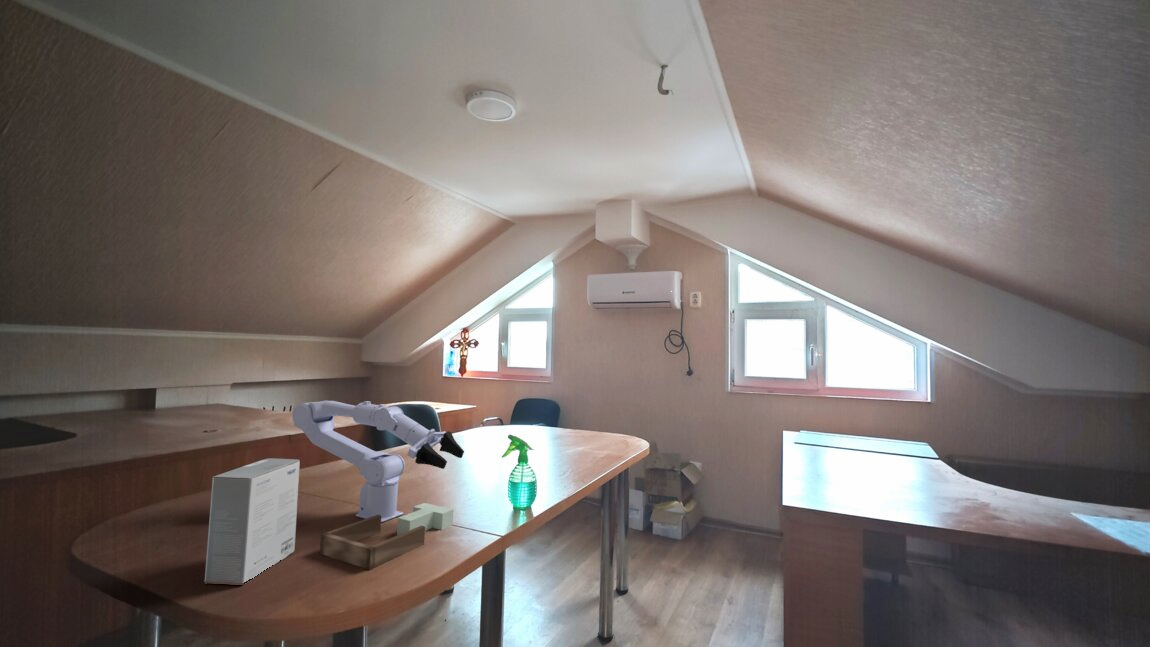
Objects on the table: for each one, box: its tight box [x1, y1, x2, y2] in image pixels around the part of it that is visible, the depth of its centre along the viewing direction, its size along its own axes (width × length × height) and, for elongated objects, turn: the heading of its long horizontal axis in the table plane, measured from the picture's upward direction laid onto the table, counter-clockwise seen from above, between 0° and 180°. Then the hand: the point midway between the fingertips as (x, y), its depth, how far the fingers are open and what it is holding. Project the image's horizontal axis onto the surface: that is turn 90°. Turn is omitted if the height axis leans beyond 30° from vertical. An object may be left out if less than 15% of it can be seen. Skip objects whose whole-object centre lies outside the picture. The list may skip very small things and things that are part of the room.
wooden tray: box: [319, 515, 426, 571], centre depth 104 cm, size 15×15×4 cm
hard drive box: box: [204, 457, 301, 583], centre depth 93 cm, size 16×8×20 cm, turn 178°
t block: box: [396, 502, 454, 536], centre depth 117 cm, size 10×12×4 cm
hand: (454, 459), depth 120 cm, fingers open, 7 cm apart
